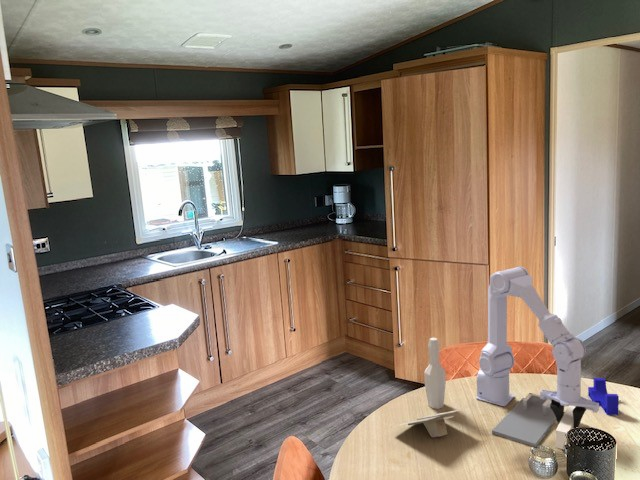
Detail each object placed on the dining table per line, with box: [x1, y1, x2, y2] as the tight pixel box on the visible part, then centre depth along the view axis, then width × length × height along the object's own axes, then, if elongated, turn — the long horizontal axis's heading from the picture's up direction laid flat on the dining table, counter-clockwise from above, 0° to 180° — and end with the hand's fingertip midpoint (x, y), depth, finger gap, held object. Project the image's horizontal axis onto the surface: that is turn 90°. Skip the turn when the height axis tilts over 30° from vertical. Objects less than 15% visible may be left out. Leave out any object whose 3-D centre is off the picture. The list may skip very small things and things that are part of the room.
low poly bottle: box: [423, 337, 447, 410], centre depth 163 cm, size 6×6×22 cm
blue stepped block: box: [587, 377, 620, 416], centre depth 157 cm, size 12×4×6 cm, turn 170°
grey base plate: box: [491, 392, 557, 448], centre depth 151 cm, size 12×23×4 cm, turn 138°
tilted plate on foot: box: [392, 408, 463, 438], centre depth 148 cm, size 16×9×15 cm
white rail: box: [555, 405, 576, 451], centre depth 143 cm, size 3×16×5 cm, turn 143°
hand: (568, 428), depth 143 cm, fingers closed on white rail, 3 cm apart
